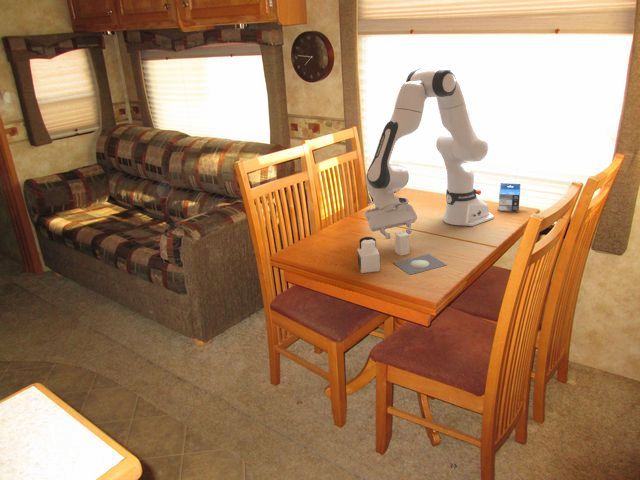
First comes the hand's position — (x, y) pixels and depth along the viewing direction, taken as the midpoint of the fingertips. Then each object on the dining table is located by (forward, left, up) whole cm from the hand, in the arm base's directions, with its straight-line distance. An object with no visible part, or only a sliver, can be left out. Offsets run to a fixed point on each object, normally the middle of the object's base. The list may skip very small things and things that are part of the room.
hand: (399, 236), depth 208 cm
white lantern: (+18, +8, -7) cm, 21 cm away
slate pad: (0, +14, -7) cm, 16 cm away
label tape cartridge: (-66, -15, -7) cm, 68 cm away
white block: (0, +2, -7) cm, 7 cm away
